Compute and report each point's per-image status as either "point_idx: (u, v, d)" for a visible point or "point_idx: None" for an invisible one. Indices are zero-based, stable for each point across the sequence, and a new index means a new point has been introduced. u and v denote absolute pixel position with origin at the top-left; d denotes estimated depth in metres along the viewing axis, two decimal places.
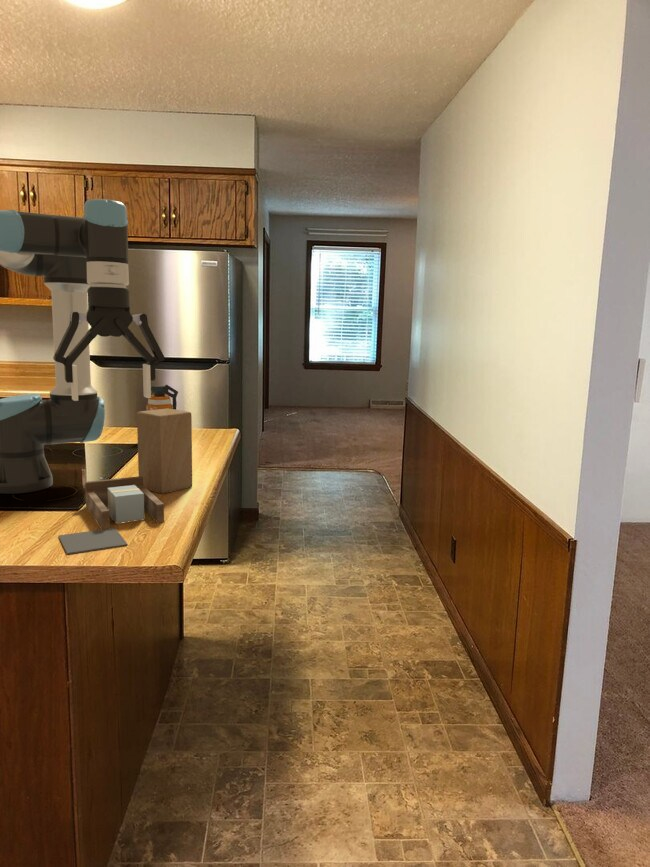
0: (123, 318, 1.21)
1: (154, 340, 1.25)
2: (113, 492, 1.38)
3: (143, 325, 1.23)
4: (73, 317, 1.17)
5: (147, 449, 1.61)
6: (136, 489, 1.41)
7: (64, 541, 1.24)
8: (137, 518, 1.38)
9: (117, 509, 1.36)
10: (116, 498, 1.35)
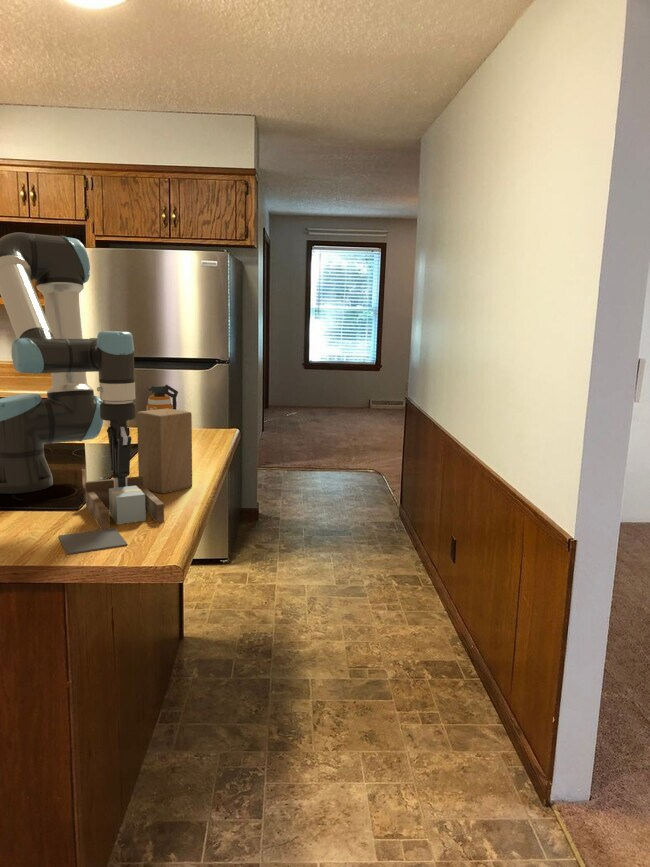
0: (116, 427, 1.39)
1: (118, 459, 1.39)
2: (114, 493, 1.38)
3: (118, 444, 1.38)
4: None
5: (147, 449, 1.61)
6: (137, 490, 1.40)
7: (64, 541, 1.24)
8: (138, 519, 1.38)
9: (118, 510, 1.35)
10: (117, 499, 1.35)
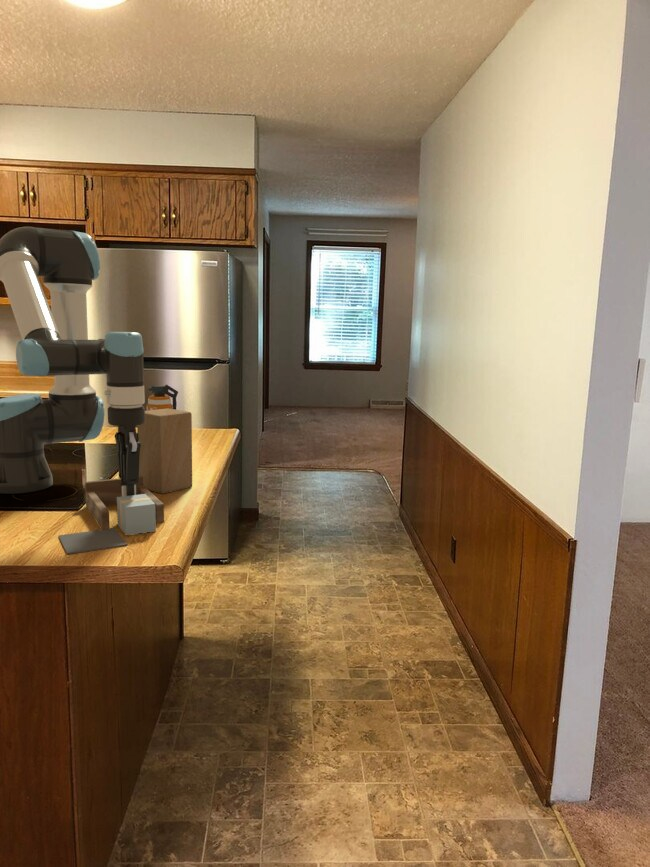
0: (124, 432, 1.33)
1: (127, 466, 1.32)
2: (123, 502, 1.31)
3: (126, 450, 1.31)
4: (115, 439, 1.40)
5: (147, 449, 1.61)
6: (147, 499, 1.33)
7: (64, 541, 1.24)
8: (148, 530, 1.31)
9: (127, 520, 1.28)
10: (126, 509, 1.28)
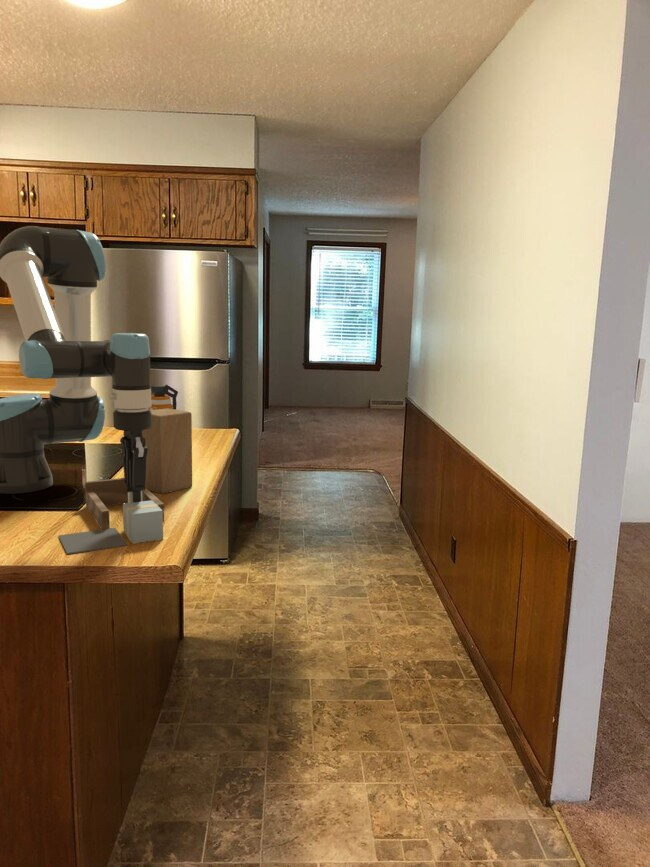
0: (130, 437, 1.28)
1: (133, 472, 1.28)
2: (129, 509, 1.26)
3: (133, 455, 1.27)
4: (121, 443, 1.36)
5: None
6: (154, 506, 1.29)
7: (64, 541, 1.24)
8: (155, 537, 1.27)
9: (134, 528, 1.24)
10: (133, 516, 1.24)
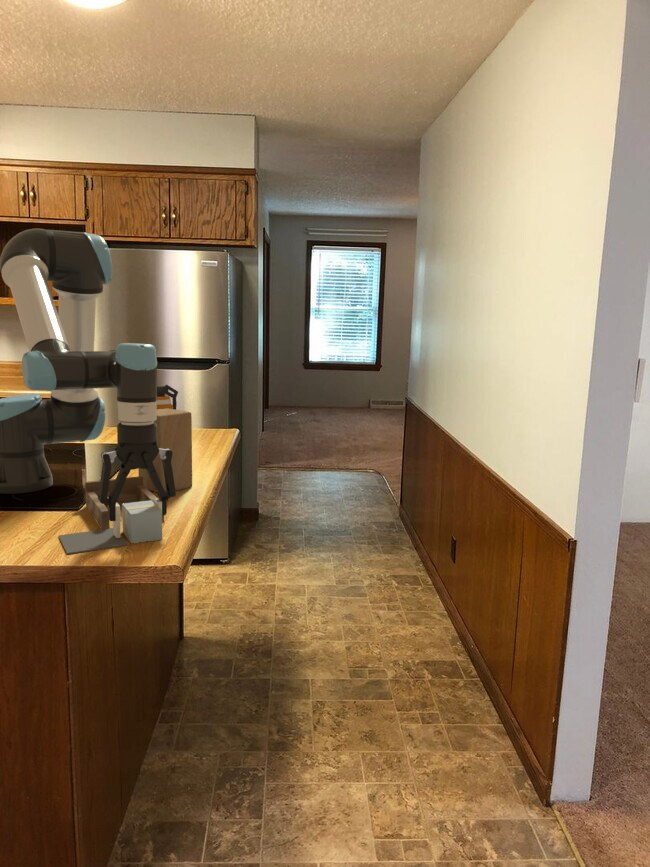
0: (150, 450, 1.27)
1: (172, 476, 1.30)
2: (128, 509, 1.26)
3: (166, 460, 1.28)
4: (105, 460, 1.22)
5: None
6: (153, 506, 1.29)
7: (64, 541, 1.24)
8: (154, 537, 1.26)
9: (133, 528, 1.24)
10: (132, 516, 1.23)
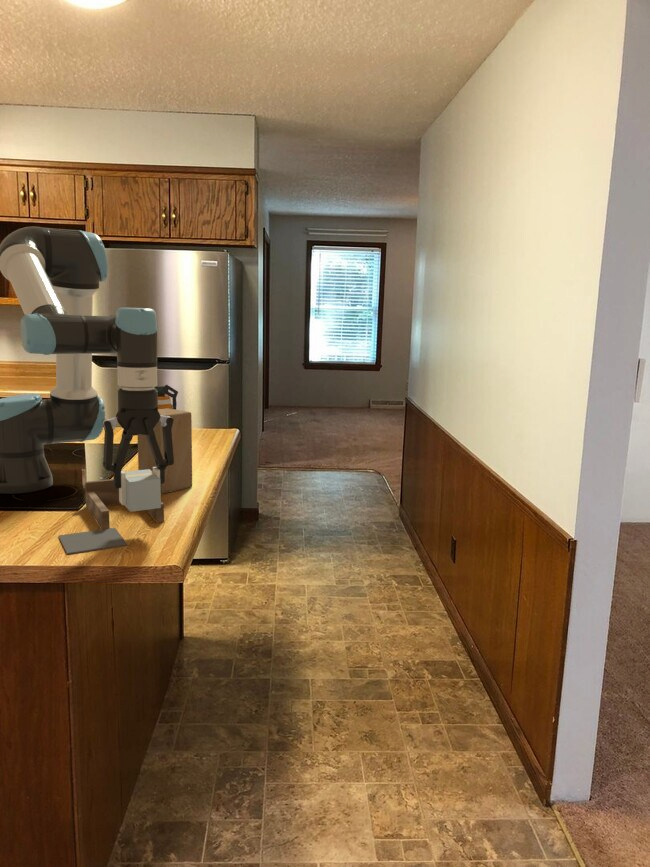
0: (151, 416, 1.26)
1: (171, 444, 1.29)
2: (127, 477, 1.26)
3: (167, 428, 1.28)
4: (106, 427, 1.22)
5: (147, 449, 1.61)
6: (152, 474, 1.28)
7: (64, 541, 1.24)
8: (153, 506, 1.26)
9: (131, 496, 1.23)
10: (130, 484, 1.23)
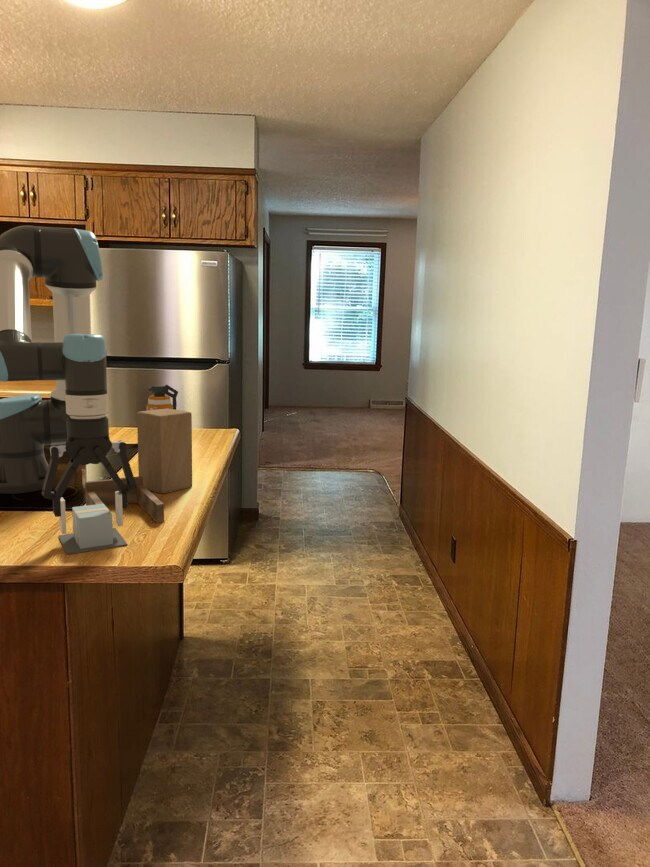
0: (102, 445, 1.22)
1: (129, 468, 1.25)
2: (77, 513, 1.22)
3: (121, 453, 1.24)
4: (52, 453, 1.18)
5: (147, 449, 1.61)
6: (104, 509, 1.24)
7: (64, 541, 1.24)
8: (105, 542, 1.22)
9: (81, 532, 1.20)
10: (80, 520, 1.19)
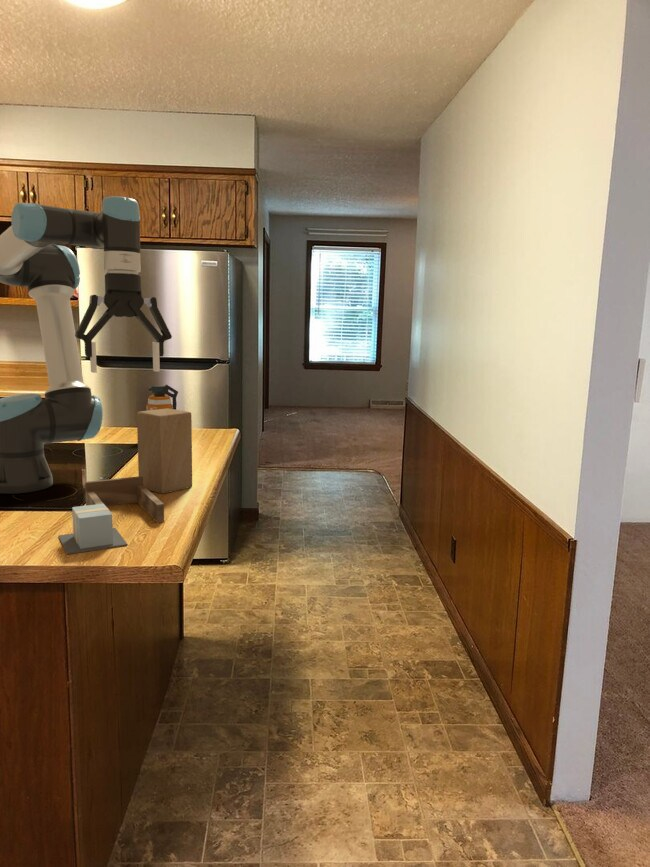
0: (136, 301, 1.38)
1: (162, 320, 1.42)
2: (77, 513, 1.22)
3: (153, 307, 1.40)
4: (92, 299, 1.34)
5: (147, 449, 1.61)
6: (104, 509, 1.24)
7: (64, 541, 1.24)
8: (105, 542, 1.22)
9: (81, 532, 1.20)
10: (80, 520, 1.19)
